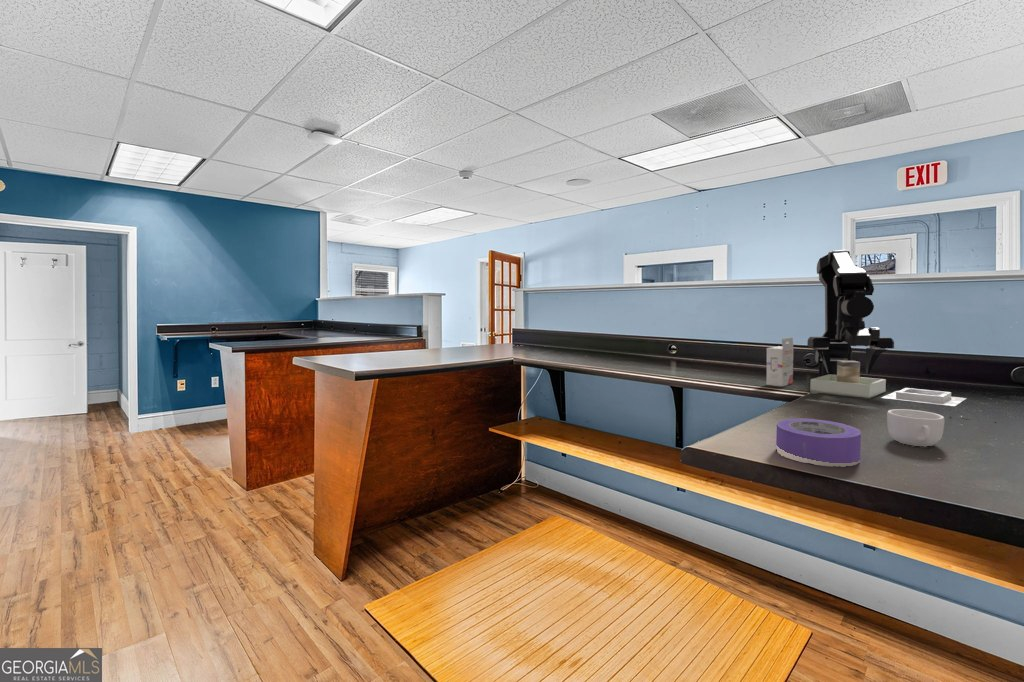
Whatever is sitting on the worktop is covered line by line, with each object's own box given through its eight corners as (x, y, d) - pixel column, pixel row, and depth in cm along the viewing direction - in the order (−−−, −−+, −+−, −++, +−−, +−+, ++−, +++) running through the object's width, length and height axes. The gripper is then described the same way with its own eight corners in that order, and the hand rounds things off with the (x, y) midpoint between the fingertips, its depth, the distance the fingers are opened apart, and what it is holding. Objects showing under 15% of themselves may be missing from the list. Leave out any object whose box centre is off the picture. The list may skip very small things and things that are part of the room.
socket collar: (880, 399, 120) (881, 391, 120) (896, 393, 128) (896, 385, 128) (954, 408, 109) (955, 399, 108) (966, 400, 117) (967, 392, 117)
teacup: (880, 435, 88) (881, 407, 88) (932, 440, 85) (933, 411, 85) (898, 451, 79) (899, 420, 79) (957, 456, 76) (959, 423, 75)
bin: (810, 393, 130) (810, 379, 130) (828, 387, 138) (828, 374, 138) (869, 400, 119) (869, 385, 119) (885, 393, 128) (885, 379, 127)
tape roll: (843, 474, 69) (844, 441, 69) (763, 454, 79) (763, 425, 78) (871, 457, 76) (872, 427, 76) (794, 441, 86) (795, 415, 85)
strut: (841, 391, 127) (842, 362, 127) (836, 388, 131) (837, 360, 131) (859, 391, 126) (860, 362, 126) (853, 388, 130) (854, 360, 130)
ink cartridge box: (776, 381, 150) (777, 336, 149) (793, 383, 147) (794, 337, 145) (765, 385, 145) (766, 338, 144) (782, 386, 141) (783, 338, 140)
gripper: (820, 318, 123) (818, 377, 124) (905, 317, 117) (903, 379, 118) (807, 317, 133) (806, 371, 134) (885, 316, 127) (883, 372, 129)
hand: (848, 373), depth 128 cm, fingers open, 9 cm apart
